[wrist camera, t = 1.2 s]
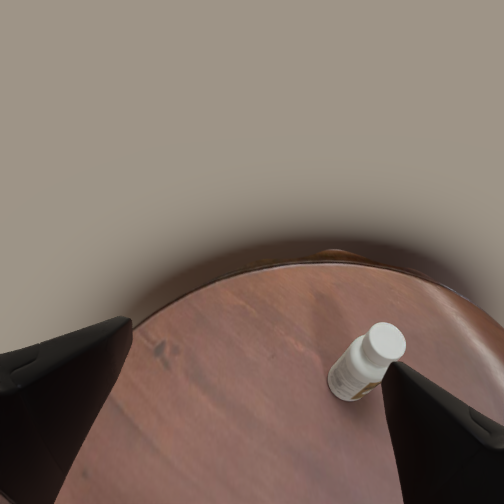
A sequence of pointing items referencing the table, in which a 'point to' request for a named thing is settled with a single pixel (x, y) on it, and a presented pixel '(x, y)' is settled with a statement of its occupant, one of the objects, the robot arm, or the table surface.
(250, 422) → the table surface
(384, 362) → the pill bottle
